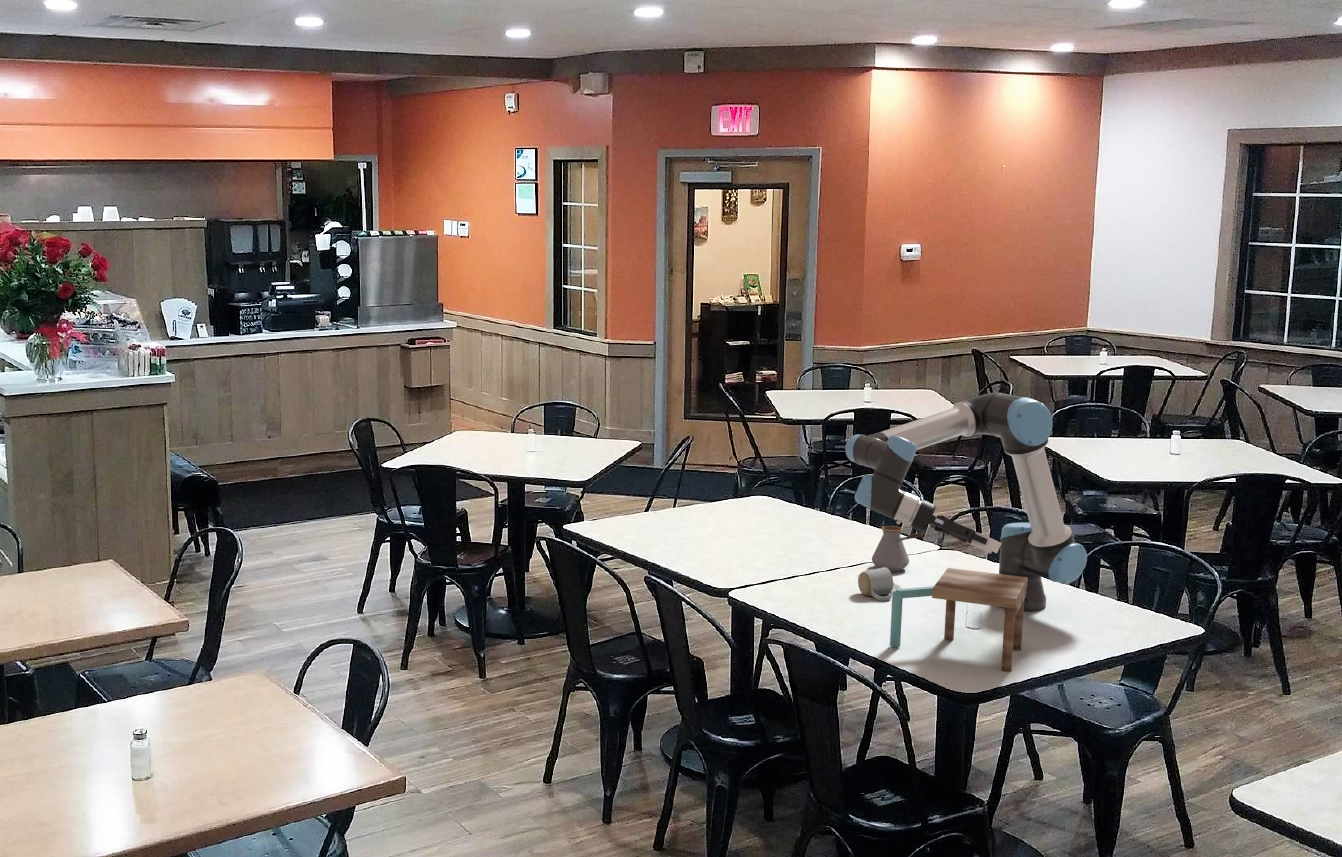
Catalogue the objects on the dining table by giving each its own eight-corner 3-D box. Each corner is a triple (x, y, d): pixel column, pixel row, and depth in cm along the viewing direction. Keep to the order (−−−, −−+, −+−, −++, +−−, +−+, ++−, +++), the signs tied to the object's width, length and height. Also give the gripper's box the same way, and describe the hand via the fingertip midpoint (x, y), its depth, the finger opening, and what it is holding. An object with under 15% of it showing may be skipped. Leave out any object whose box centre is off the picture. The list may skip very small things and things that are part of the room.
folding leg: (944, 638, 334) (947, 582, 331) (949, 642, 331) (952, 585, 329) (888, 644, 329) (890, 587, 326) (892, 647, 326) (895, 589, 324)
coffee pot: (863, 566, 402) (865, 519, 400) (892, 562, 408) (894, 515, 406) (908, 584, 384) (911, 534, 382) (938, 579, 390) (940, 530, 387)
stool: (944, 636, 337) (947, 567, 334) (1022, 647, 330) (1027, 577, 326) (928, 660, 319) (932, 588, 316) (1011, 672, 311) (1016, 598, 308)
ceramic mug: (855, 592, 375) (856, 566, 374) (880, 589, 378) (881, 564, 377) (873, 603, 365) (875, 577, 364) (899, 600, 368) (900, 574, 367)
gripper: (907, 528, 334) (984, 562, 331) (912, 524, 310) (995, 562, 306) (919, 501, 334) (996, 535, 331) (924, 496, 310) (1008, 533, 306)
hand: (996, 548), depth 318 cm, fingers open, 13 cm apart
